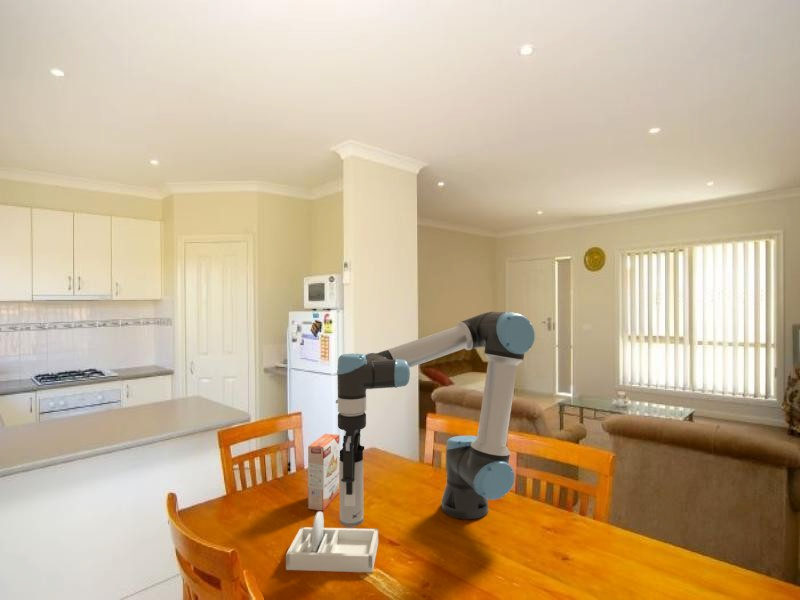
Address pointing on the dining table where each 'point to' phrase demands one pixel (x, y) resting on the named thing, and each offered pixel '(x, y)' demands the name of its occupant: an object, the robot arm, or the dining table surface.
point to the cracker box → (323, 471)
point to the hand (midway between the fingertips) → (352, 499)
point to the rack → (332, 548)
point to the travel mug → (354, 514)
